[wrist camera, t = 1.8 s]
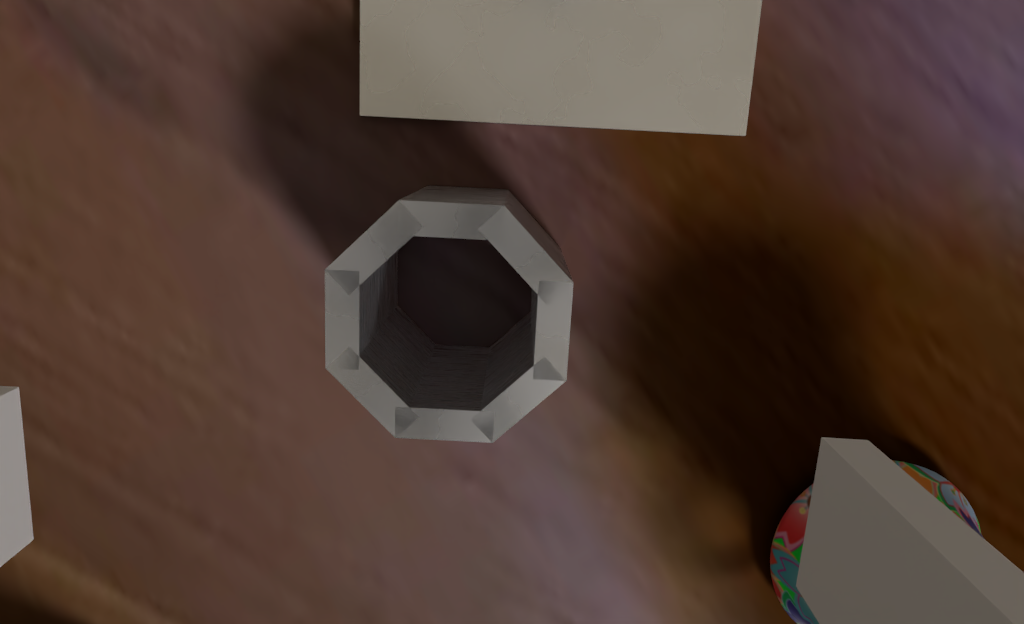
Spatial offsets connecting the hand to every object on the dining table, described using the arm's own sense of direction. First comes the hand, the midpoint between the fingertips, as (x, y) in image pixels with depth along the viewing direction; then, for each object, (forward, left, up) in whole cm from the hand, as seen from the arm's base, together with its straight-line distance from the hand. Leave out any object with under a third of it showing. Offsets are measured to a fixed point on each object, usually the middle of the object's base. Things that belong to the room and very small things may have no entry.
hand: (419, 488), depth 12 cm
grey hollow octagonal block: (0, 0, -17) cm, 17 cm away
